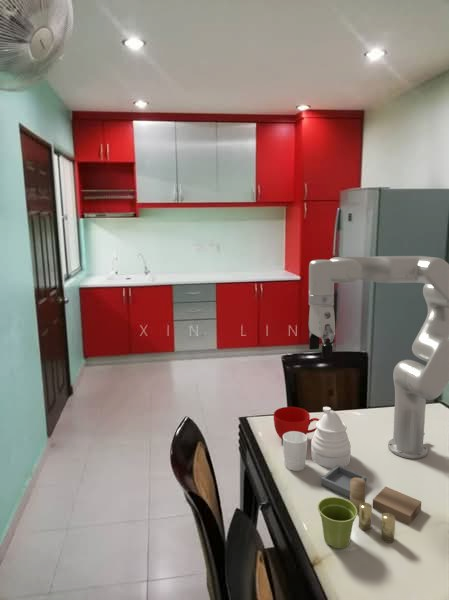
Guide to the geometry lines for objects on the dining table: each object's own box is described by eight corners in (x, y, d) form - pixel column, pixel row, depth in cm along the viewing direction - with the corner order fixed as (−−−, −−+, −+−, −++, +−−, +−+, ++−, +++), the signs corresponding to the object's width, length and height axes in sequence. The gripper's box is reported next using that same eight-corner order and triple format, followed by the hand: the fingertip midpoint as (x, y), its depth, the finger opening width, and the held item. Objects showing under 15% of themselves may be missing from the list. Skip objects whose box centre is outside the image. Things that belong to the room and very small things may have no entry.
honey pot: (328, 472, 134) (329, 419, 131) (303, 453, 145) (303, 404, 142) (358, 461, 140) (360, 410, 137) (332, 444, 151) (333, 396, 148)
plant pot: (312, 528, 109) (312, 497, 108) (347, 525, 110) (348, 495, 109) (323, 555, 100) (324, 523, 99) (362, 552, 101) (363, 519, 99)
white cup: (307, 473, 134) (307, 444, 132) (281, 471, 135) (281, 442, 133) (307, 459, 141) (307, 432, 139) (283, 457, 143) (283, 430, 141)
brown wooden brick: (385, 495, 122) (385, 486, 122) (420, 511, 115) (421, 501, 115) (372, 509, 117) (372, 499, 116) (409, 526, 110) (409, 516, 109)
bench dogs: (362, 521, 111) (362, 500, 110) (396, 538, 105) (397, 516, 104) (356, 527, 109) (357, 506, 108) (390, 544, 103) (392, 522, 102)
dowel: (353, 501, 119) (354, 475, 118) (367, 507, 117) (368, 481, 115) (346, 508, 117) (347, 482, 115) (360, 515, 114) (361, 488, 112)
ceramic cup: (321, 451, 146) (322, 424, 145) (272, 447, 149) (272, 421, 148) (319, 433, 159) (320, 408, 157) (274, 430, 162) (274, 405, 160)
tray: (337, 472, 134) (337, 464, 133) (366, 484, 127) (366, 476, 127) (321, 485, 127) (321, 478, 127) (350, 499, 120) (350, 491, 120)
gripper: (345, 304, 123) (344, 360, 126) (320, 295, 140) (320, 345, 143) (321, 305, 121) (320, 362, 124) (299, 296, 138) (299, 346, 141)
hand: (320, 353), depth 133 cm, fingers open, 9 cm apart
